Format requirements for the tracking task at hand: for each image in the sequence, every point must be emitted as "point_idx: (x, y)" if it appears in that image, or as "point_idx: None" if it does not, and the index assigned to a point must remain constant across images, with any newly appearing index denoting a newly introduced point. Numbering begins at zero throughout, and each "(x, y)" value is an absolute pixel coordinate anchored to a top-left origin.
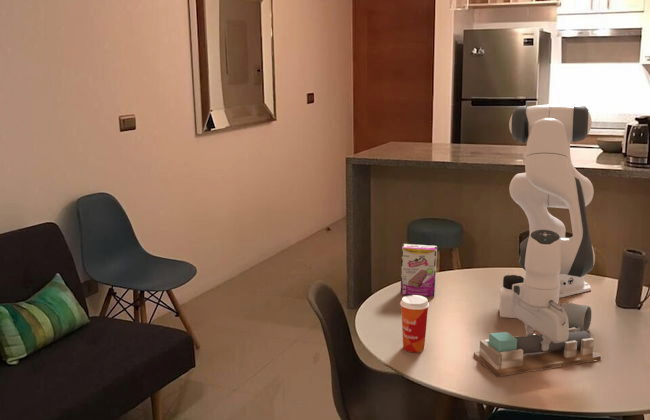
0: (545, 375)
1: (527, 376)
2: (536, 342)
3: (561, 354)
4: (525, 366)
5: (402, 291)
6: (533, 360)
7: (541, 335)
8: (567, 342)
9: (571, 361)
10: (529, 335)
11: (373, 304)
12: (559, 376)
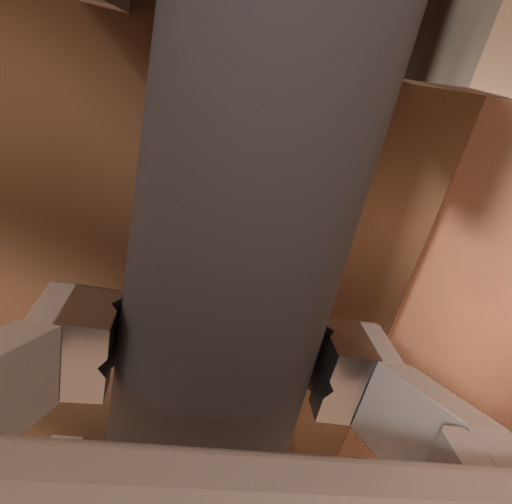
0: (429, 368)
1: (370, 450)
2: (288, 438)
3: None
4: (318, 445)
5: None
6: None
7: (234, 359)
8: (507, 70)
9: (483, 96)
10: (94, 403)
11: None
12: (496, 308)
